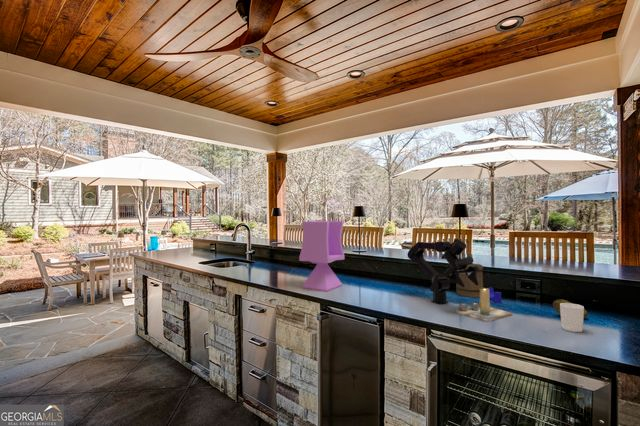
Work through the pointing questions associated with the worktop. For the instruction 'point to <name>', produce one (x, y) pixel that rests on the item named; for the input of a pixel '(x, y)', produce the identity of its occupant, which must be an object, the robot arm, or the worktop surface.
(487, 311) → the tall brass spacer
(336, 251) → the purple pedestal chair
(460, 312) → the board
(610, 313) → the worktop surface
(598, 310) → the worktop surface
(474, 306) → the short steel spacers
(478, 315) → the grey flat square plate
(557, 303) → the potato
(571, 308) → the white cup
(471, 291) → the wooden container
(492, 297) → the cable clip
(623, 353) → the worktop surface
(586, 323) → the worktop surface
